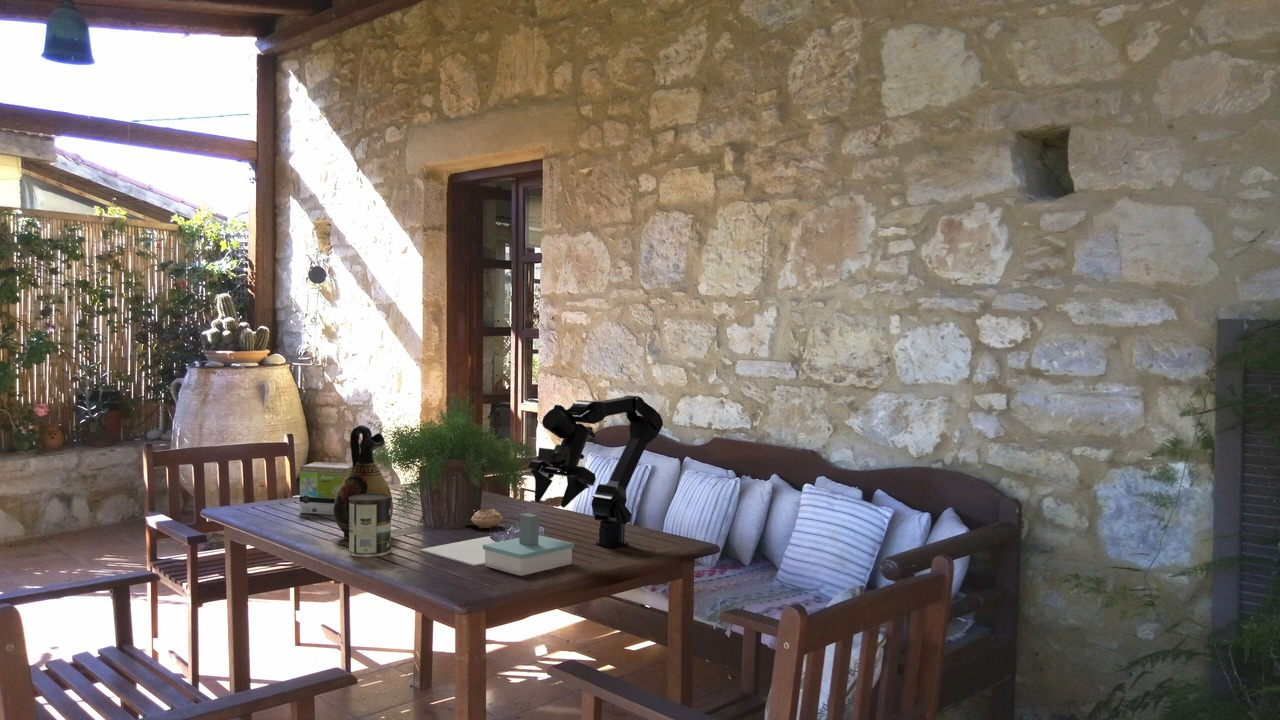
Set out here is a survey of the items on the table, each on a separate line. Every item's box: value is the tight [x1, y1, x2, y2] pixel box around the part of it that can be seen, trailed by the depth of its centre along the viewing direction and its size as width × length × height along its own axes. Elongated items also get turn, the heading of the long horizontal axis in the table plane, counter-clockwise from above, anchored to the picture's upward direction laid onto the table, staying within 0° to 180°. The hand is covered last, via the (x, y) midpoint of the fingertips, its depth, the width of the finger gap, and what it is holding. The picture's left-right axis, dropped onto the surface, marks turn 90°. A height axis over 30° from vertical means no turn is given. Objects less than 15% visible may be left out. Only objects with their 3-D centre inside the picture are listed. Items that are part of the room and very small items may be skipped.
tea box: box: [298, 461, 353, 516], centre depth 281 cm, size 15×10×15 cm, turn 83°
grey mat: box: [419, 535, 495, 567], centre depth 234 cm, size 22×22×1 cm
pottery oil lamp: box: [471, 508, 504, 529], centre depth 264 cm, size 9×12×7 cm
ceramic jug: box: [333, 424, 394, 541], centre depth 247 cm, size 17×15×30 cm
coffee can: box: [348, 494, 393, 558], centre depth 230 cm, size 10×10×14 cm
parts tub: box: [484, 548, 573, 577], centre depth 220 cm, size 16×13×4 cm
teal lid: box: [483, 512, 575, 559], centre depth 220 cm, size 17×14×10 cm
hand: (549, 504), depth 225 cm, fingers open, 9 cm apart
